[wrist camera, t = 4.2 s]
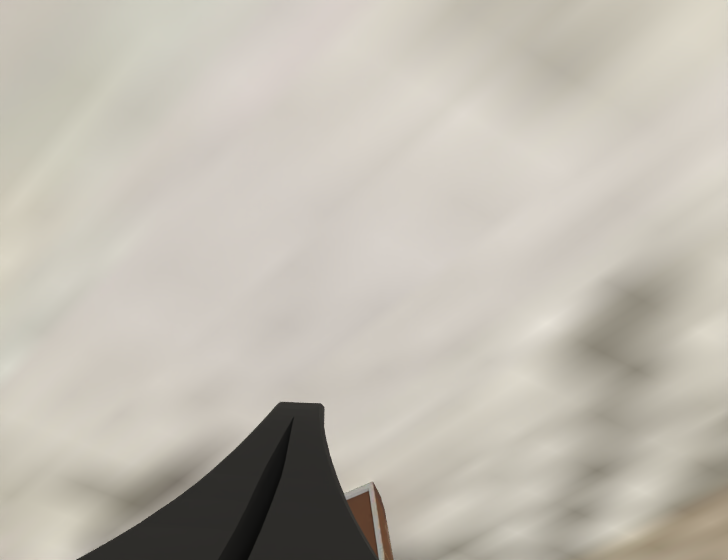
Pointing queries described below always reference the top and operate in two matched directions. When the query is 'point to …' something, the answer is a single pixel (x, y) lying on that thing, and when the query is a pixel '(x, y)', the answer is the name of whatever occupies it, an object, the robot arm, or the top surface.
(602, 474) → the top surface
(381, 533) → the food container
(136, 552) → the robot arm
